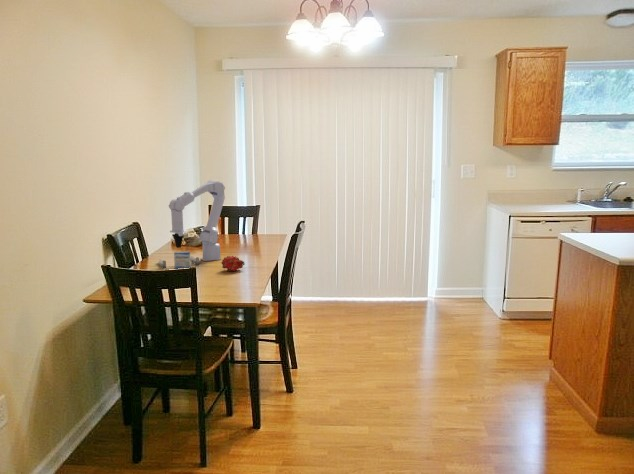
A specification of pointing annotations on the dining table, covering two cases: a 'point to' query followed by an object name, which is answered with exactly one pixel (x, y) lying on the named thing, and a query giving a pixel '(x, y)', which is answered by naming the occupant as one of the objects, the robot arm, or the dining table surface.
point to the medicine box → (182, 259)
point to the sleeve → (195, 261)
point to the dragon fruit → (232, 263)
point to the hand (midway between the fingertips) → (178, 247)
